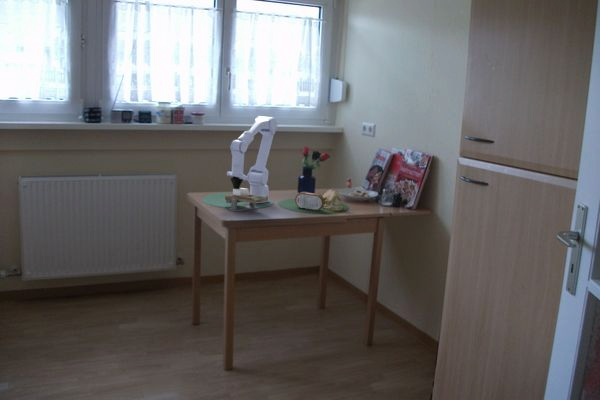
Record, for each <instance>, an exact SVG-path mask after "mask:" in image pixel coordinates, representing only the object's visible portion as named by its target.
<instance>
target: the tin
mask: <svg viewBox="0 0 600 400" xmlns="http://www.w3.org/2000/svg"><path fill="white" fill-rule="evenodd" d="M322 196H323V195H321V194H319V193H314V192H309V191H301V192H299V193H297V195H296V196H295V199H294V200H295V205H296V206H297V207H298V208H300V209H302V208H305V209H304V210H308V209H312V210H311V211H315V210H317V211H319V210H321V209H323V206H324V204H325V200H324V198H323V197H322Z"/></svg>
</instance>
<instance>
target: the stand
mask: <svg viewBox="0 0 600 400" xmlns="http://www.w3.org/2000/svg"><path fill="white" fill-rule="evenodd" d="M257 209H259V207H257V206H256V203H249V205H244V206H238V203H237V199H234V198H232V199H231V203H230V207H228V210H230V211H232V212H235V213H236V212H240V211H241V212H242V211H243V212H244V211H248V210H250V211H252V210H257Z"/></svg>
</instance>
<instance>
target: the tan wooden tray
mask: <svg viewBox="0 0 600 400" xmlns="http://www.w3.org/2000/svg"><path fill="white" fill-rule="evenodd" d="M232 198H234V199H237V204H238V203H249V204H250V203H255V204H258V203H257V202H263V203H267V202H266V201H269V197H268V195H264V196H258V195H250V194H249V197H241V196H233V194H232V195H230V194H224V199H225V204H231V199H232Z"/></svg>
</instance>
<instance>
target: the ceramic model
mask: <svg viewBox="0 0 600 400" xmlns="http://www.w3.org/2000/svg"><path fill="white" fill-rule="evenodd" d="M321 196H322V197H323V198H324V200H325V204H324V206H323V208H325V209H324V210H326V209H328V210H327V211H330V210H331V212H334V211H335V212H336V211H342V210H343V206H342V205H340V203H341V201H342V198H341V196H340V194H338V193H337V191H336V190H335V188H331V189H328V190H327V191H326V192H324V194H322V195H321ZM323 208H322V209H323Z"/></svg>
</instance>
